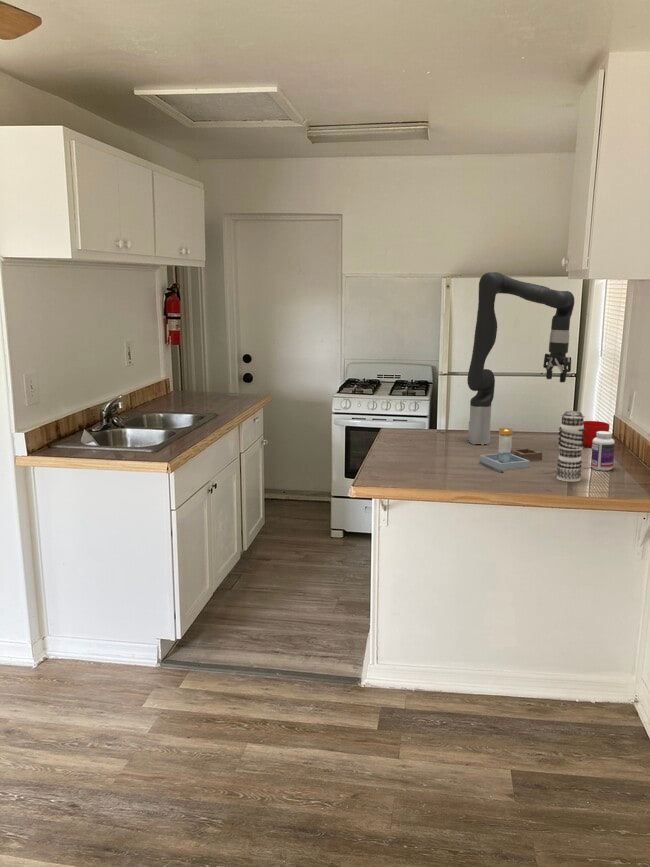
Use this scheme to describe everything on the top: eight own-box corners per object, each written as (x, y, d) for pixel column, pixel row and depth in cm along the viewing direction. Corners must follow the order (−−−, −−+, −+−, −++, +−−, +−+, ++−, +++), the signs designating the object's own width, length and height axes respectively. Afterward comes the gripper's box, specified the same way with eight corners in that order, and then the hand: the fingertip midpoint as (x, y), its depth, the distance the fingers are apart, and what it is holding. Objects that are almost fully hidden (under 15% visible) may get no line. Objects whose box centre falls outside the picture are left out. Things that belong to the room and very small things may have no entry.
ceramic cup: (566, 446, 314) (567, 424, 311) (586, 441, 324) (587, 419, 322) (594, 452, 304) (595, 429, 302) (613, 445, 315) (615, 423, 313)
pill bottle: (614, 468, 278) (617, 431, 275) (609, 472, 271) (612, 435, 268) (593, 465, 282) (596, 429, 279) (588, 469, 276) (590, 433, 273)
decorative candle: (574, 474, 268) (578, 409, 263) (586, 481, 259) (591, 413, 254) (551, 475, 267) (555, 410, 262) (562, 482, 258) (567, 414, 253)
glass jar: (494, 463, 282) (496, 428, 279) (506, 462, 283) (507, 427, 280) (502, 466, 277) (503, 431, 274) (513, 465, 279) (515, 430, 276)
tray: (479, 463, 285) (479, 455, 284) (507, 460, 289) (507, 452, 289) (500, 472, 271) (501, 464, 270) (529, 469, 276) (529, 461, 275)
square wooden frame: (509, 459, 292) (510, 449, 291) (528, 457, 295) (528, 448, 294) (522, 464, 284) (523, 454, 283) (541, 462, 287) (542, 452, 286)
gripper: (540, 339, 294) (537, 378, 298) (563, 343, 281) (559, 383, 285) (555, 339, 297) (552, 377, 301) (578, 342, 284) (574, 382, 288)
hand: (555, 380), depth 293 cm, fingers open, 8 cm apart
